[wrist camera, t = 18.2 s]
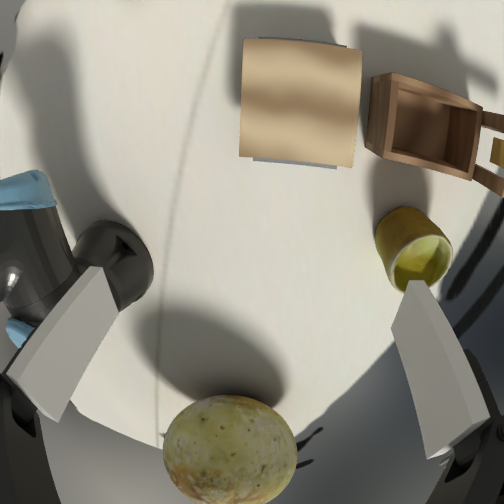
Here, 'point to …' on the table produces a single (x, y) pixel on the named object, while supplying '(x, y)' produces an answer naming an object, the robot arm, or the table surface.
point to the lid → (299, 101)
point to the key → (497, 152)
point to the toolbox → (429, 128)
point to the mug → (412, 248)
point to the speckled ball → (229, 451)
